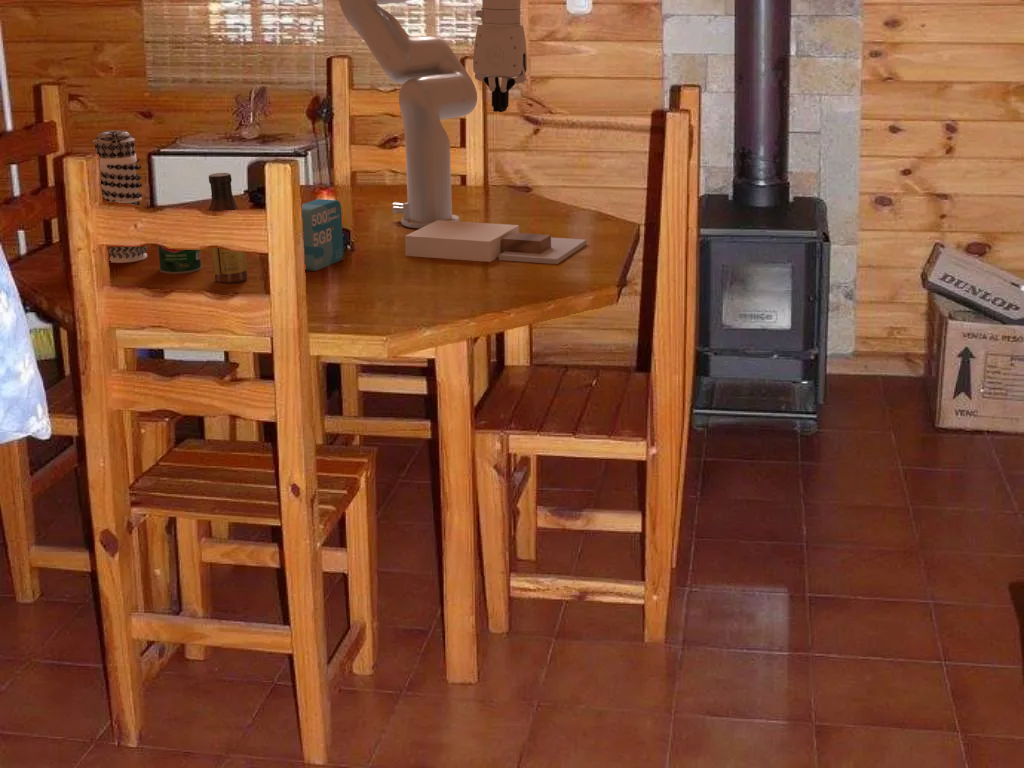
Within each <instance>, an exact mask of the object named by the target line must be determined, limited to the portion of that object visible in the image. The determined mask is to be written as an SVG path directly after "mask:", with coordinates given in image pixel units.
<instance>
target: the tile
mask: <svg viewBox="0 0 1024 768" xmlns="http://www.w3.org/2000/svg"><path fill="white" fill-rule="evenodd" d="M551 237H552V235H551V234H539V233H527V232H526V233H525V232H519V233H512V234H510V235H508V236H506V237H504V238H502V251H507V252H521V253H535V254H541V253H543V252H544V251H546V250H548V249H549V248H551Z"/></svg>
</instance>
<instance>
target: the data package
mask: <svg viewBox="0 0 1024 768" xmlns="http://www.w3.org/2000/svg"><path fill="white" fill-rule="evenodd" d="M301 205H302V218H303V232H304V247H305V264H306V270H305V271H310V272H311V271H312V272H316V271H319V270H322V269H324V268H326V267H328V266H331V265H332V264H336V263H338V262H340V261H341V260H342V259H343V257H344V239H343V237H344V236H343V221H342V220H343V219H342V217H343V216H342V204H341V202H340V201H339V200H337V199H323V198H316V199H314V200H311V201H309V202H305V203H302V204H301Z"/></svg>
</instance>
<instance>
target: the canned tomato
mask: <svg viewBox="0 0 1024 768" xmlns="http://www.w3.org/2000/svg"><path fill="white" fill-rule="evenodd" d="M157 248H158V249H157V250H158V262H159V271H160V273H163V274H168V275H169V274H170V275H182V274H183V275H184V274H189V273H195V272H198V271H200V270H201V269H202V259H201V249H200V250H175V249H168V248H165V247H161V246H158V245H157Z"/></svg>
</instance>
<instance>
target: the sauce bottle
mask: <svg viewBox="0 0 1024 768" xmlns="http://www.w3.org/2000/svg"><path fill="white" fill-rule="evenodd" d="M208 183H209V184H210V191H211V201H210V202H211V203H210V206H209V207H208V210H210V211H223V210H235V209H238V210H239V208H238V206H237V203H236V200H235V199H234V196H233V190H232V174H231V173H229V172H216V173H211V174H209V175H208ZM210 253H211V263H212V271H213V274H214V280H215V282H217V283H222V284H233V283H234V284H235V283H240V282H243V281H245V280H247V278H248V262H247V261H248V260H247V255H246V254H247V252H246V251H245V252H236V251H230V250H225V249H220V248H211V247H210Z"/></svg>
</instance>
